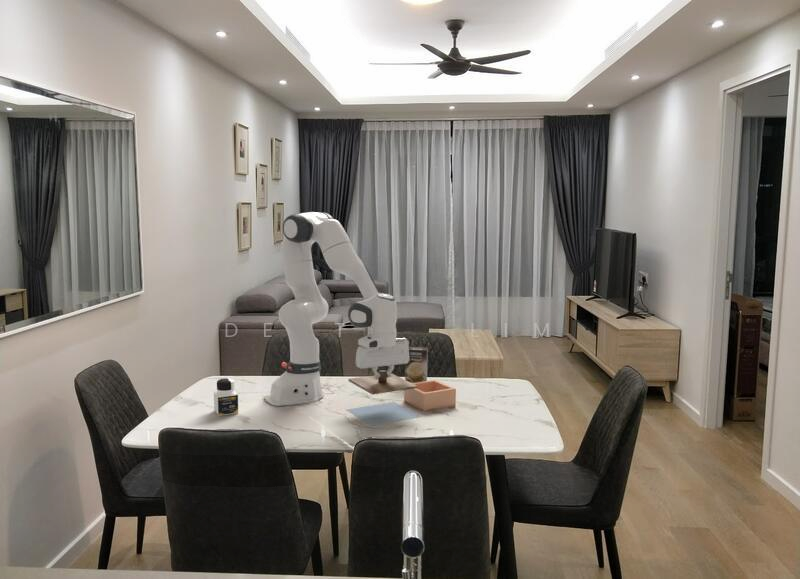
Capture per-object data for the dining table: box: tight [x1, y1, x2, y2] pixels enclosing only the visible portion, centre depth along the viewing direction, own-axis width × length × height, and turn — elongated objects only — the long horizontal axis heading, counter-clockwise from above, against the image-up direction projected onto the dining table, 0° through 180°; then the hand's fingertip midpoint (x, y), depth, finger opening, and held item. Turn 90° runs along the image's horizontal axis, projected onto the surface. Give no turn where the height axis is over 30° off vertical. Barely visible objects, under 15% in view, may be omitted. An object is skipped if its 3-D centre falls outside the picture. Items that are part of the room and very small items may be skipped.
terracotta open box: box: [403, 379, 457, 412], centre depth 244 cm, size 14×14×7 cm
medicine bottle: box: [213, 377, 239, 417], centre depth 233 cm, size 7×7×12 cm
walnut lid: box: [348, 369, 417, 395], centre depth 231 cm, size 18×18×5 cm
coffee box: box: [404, 346, 429, 383], centre depth 268 cm, size 9×6×16 cm
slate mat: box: [346, 401, 423, 427], centre depth 232 cm, size 20×20×1 cm
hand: (382, 377), depth 231 cm, fingers closed on walnut lid, 3 cm apart
